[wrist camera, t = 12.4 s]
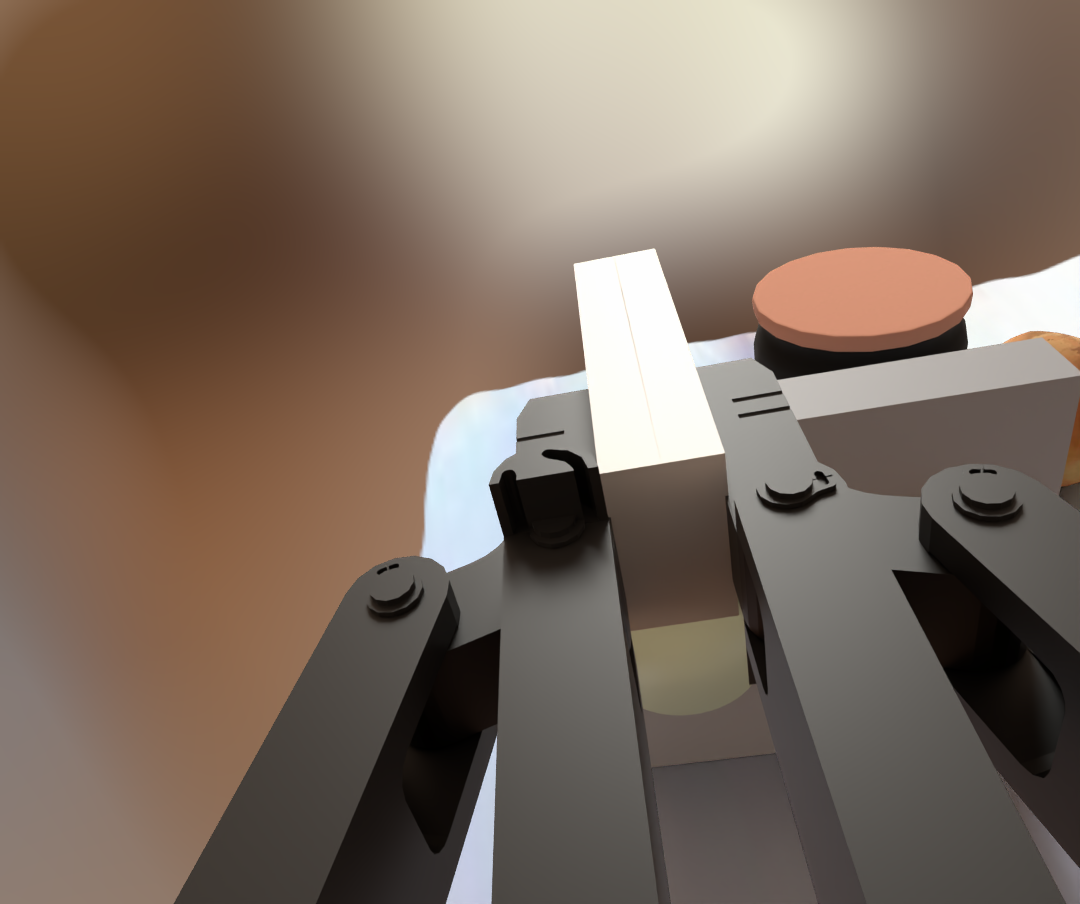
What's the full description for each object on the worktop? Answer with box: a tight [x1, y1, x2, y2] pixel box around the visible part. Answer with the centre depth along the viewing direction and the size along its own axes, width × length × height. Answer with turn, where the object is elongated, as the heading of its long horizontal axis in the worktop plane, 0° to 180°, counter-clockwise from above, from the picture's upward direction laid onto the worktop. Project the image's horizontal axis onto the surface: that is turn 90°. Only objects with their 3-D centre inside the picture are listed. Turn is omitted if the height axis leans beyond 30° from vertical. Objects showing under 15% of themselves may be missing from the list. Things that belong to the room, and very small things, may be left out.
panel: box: [643, 337, 1080, 768], centre depth 37 cm, size 3×20×20 cm, turn 90°
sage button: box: [631, 600, 751, 715], centre depth 37 cm, size 8×6×6 cm
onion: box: [1003, 331, 1080, 487], centre depth 53 cm, size 10×10×10 cm
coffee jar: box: [752, 247, 973, 380], centre depth 48 cm, size 11×11×18 cm
